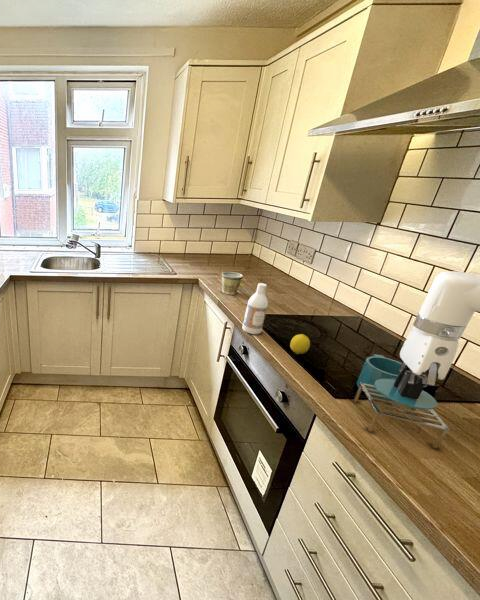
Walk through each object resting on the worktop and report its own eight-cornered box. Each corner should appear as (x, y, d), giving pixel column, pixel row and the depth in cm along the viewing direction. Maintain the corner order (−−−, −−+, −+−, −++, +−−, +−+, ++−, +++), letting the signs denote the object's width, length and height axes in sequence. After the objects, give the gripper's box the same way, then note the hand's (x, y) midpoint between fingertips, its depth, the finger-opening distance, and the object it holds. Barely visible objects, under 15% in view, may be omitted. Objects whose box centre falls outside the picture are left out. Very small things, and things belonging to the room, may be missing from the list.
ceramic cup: (215, 292, 168) (218, 274, 165) (223, 287, 175) (227, 270, 171) (239, 299, 159) (243, 280, 156) (248, 294, 166) (252, 276, 162)
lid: (421, 389, 81) (432, 367, 78) (445, 417, 71) (459, 394, 69) (366, 377, 85) (375, 356, 83) (382, 403, 76) (393, 380, 73)
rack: (412, 413, 84) (421, 395, 82) (438, 449, 73) (450, 429, 71) (352, 399, 89) (359, 382, 87) (368, 431, 78) (377, 412, 76)
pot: (390, 380, 98) (401, 356, 95) (414, 412, 85) (428, 387, 81) (349, 371, 102) (358, 349, 99) (366, 401, 89) (377, 376, 85)
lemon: (305, 352, 112) (312, 333, 109) (306, 360, 108) (313, 339, 105) (287, 348, 115) (293, 329, 112) (287, 355, 111) (293, 335, 107)
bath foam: (245, 334, 125) (256, 287, 117) (239, 326, 131) (249, 281, 124) (263, 335, 124) (276, 287, 117) (256, 327, 131) (267, 281, 123)
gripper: (485, 347, 62) (443, 419, 70) (440, 315, 76) (409, 378, 83) (434, 339, 65) (399, 408, 72) (400, 309, 79) (373, 370, 86)
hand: (405, 391), depth 78 cm, fingers closed on lid, 3 cm apart
